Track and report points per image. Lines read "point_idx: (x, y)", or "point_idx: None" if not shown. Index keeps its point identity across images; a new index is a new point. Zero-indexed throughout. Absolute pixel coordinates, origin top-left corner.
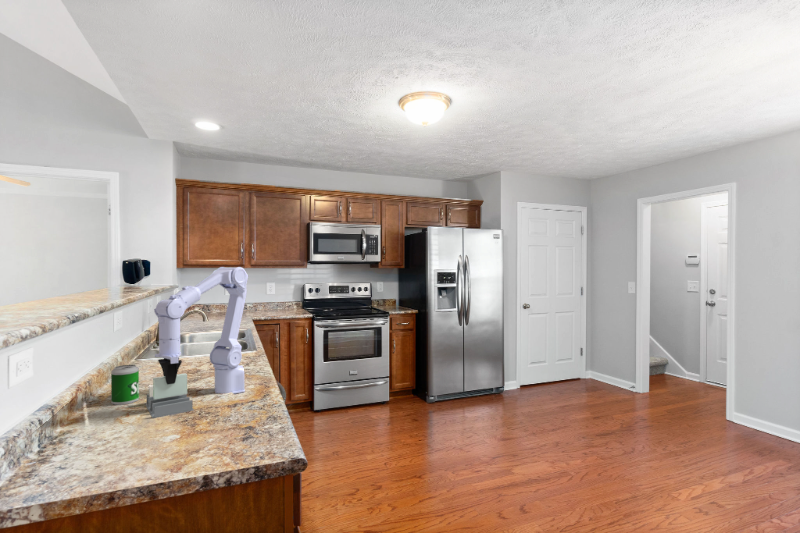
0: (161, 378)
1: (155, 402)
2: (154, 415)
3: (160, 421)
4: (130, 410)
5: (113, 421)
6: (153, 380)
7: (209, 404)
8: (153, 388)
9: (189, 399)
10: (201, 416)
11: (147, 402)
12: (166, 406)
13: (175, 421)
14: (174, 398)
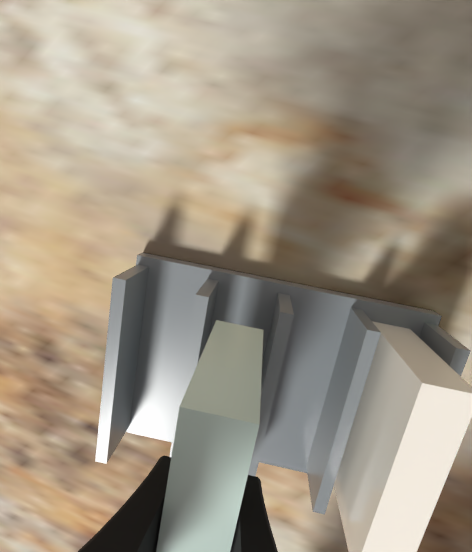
0: (170, 469)
1: (273, 331)
2: (144, 268)
3: (114, 276)
4: (431, 232)
5: (303, 101)
6: (228, 403)
7: None
8: (239, 360)
9: None
10: (54, 417)
11: (427, 329)
12: (109, 335)
13: (66, 321)
14: None
